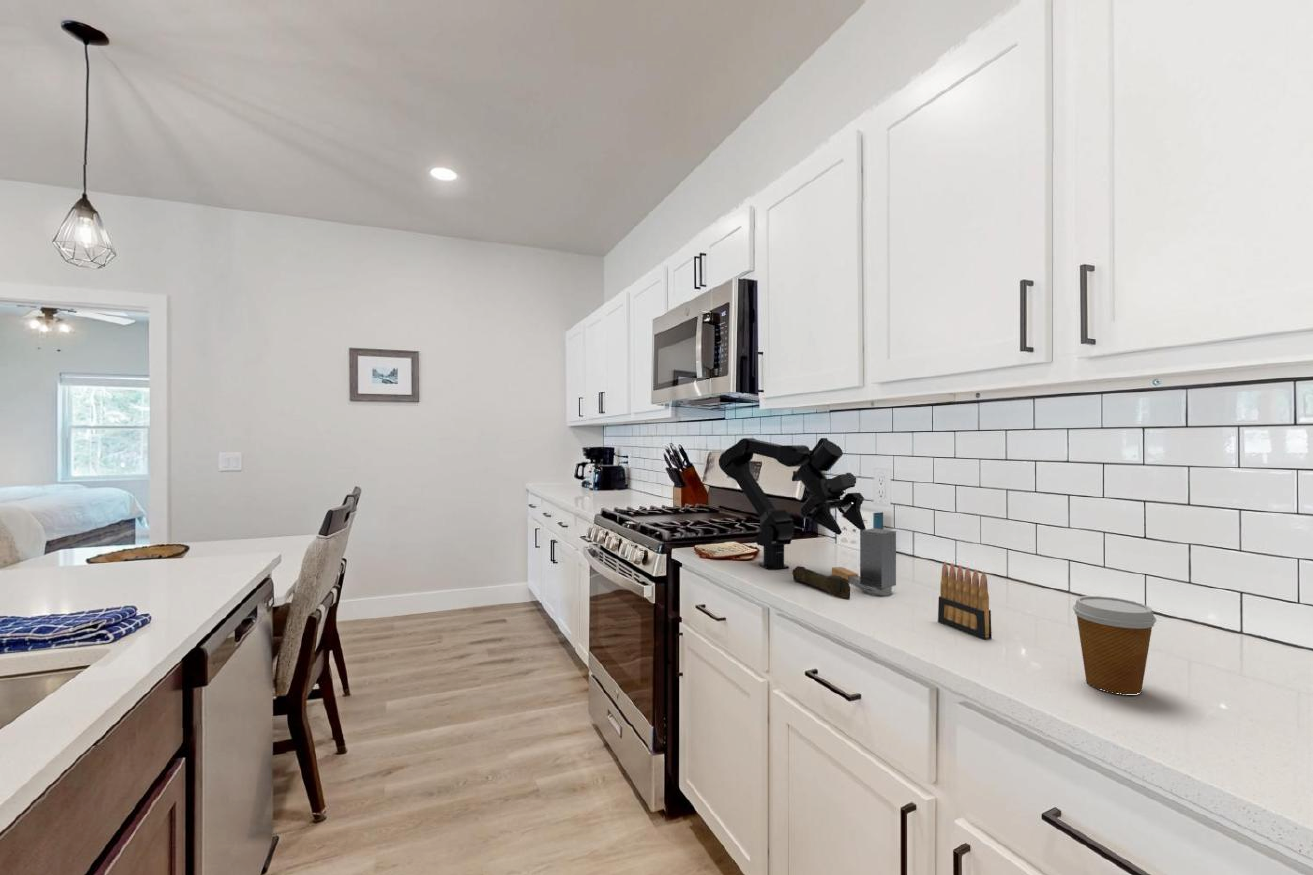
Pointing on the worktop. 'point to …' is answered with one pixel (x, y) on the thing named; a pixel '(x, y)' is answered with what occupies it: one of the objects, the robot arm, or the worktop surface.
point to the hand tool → (823, 582)
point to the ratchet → (855, 580)
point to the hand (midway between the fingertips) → (852, 531)
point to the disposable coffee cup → (1114, 642)
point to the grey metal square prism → (878, 558)
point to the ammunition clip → (965, 602)
